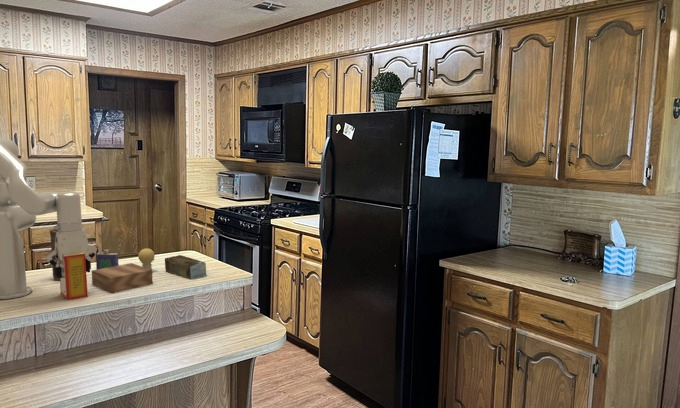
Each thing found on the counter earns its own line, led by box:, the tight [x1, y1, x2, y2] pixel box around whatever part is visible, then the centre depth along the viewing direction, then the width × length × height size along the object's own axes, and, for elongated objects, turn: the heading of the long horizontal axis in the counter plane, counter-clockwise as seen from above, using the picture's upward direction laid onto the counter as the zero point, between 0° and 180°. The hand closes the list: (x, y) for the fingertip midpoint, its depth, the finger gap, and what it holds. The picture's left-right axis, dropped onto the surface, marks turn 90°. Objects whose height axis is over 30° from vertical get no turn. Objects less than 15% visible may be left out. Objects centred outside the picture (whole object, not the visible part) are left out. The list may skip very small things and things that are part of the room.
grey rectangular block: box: [164, 254, 207, 280], centre depth 209 cm, size 8×19×7 cm, turn 50°
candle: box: [49, 228, 60, 281], centre depth 199 cm, size 8×7×20 cm
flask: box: [95, 248, 120, 270], centre depth 206 cm, size 9×3×11 cm, turn 88°
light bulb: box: [138, 248, 155, 271], centre depth 211 cm, size 6×6×10 cm
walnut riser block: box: [91, 262, 154, 294], centre depth 193 cm, size 16×16×6 cm
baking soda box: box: [59, 253, 89, 301], centre depth 178 cm, size 10×6×16 cm
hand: (73, 274), depth 178 cm, fingers open, 9 cm apart
